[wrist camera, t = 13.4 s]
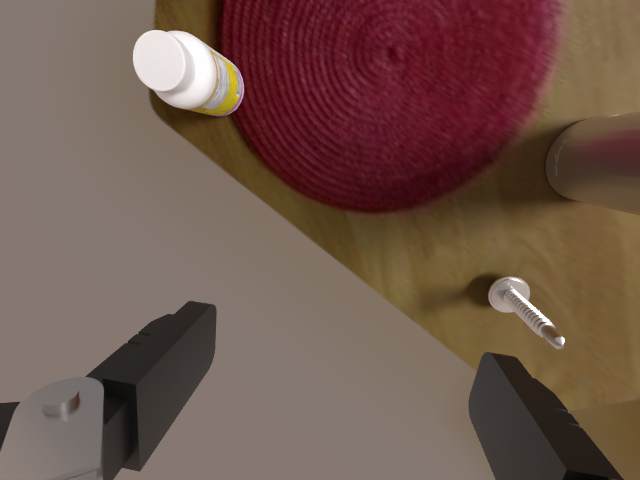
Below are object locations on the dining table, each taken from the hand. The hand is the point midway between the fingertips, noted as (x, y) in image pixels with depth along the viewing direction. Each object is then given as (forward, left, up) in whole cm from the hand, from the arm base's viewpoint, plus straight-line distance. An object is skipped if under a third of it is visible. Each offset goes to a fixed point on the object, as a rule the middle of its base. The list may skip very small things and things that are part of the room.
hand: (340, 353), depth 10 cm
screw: (-21, +9, -33) cm, 40 cm away
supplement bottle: (+18, -11, -33) cm, 39 cm away
